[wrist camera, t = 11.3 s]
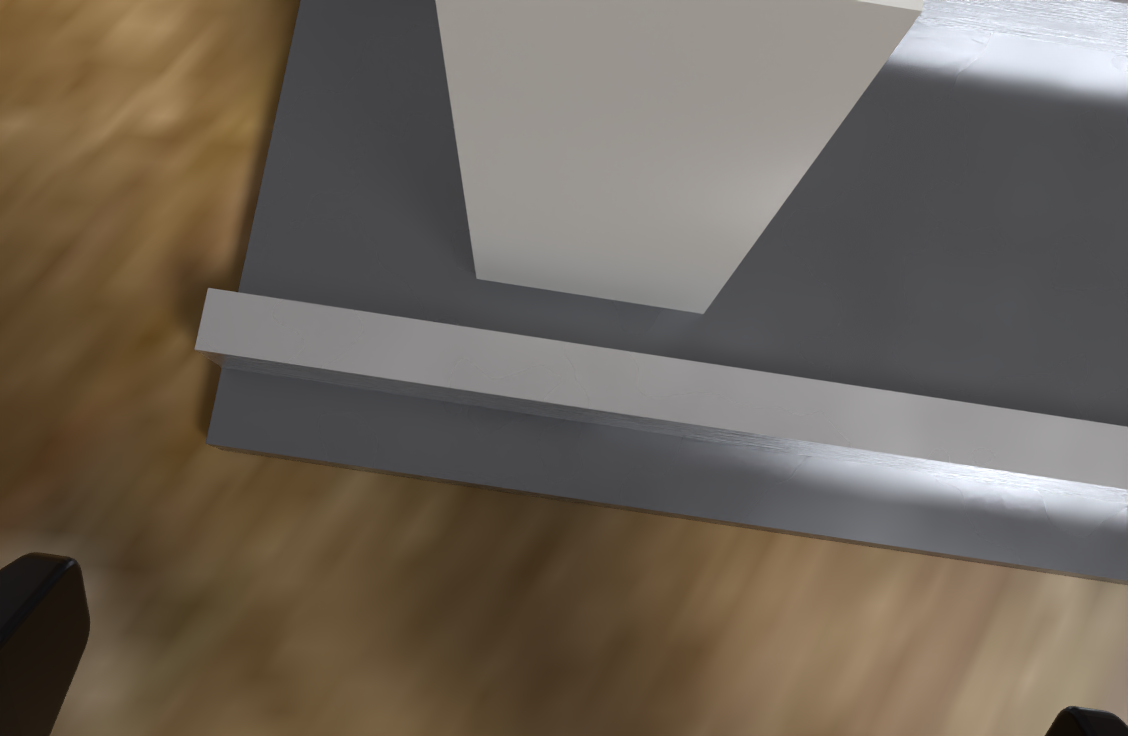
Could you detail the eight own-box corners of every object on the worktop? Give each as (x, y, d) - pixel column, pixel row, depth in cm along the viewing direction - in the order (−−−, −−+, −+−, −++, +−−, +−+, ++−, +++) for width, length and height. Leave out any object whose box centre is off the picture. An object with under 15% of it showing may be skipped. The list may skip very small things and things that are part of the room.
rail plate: (1332, 9, 21) (1440, -65, 18) (1332, 615, 19) (1456, 622, 16) (347, -146, 21) (324, -242, 18) (222, 450, 18) (176, 431, 16)
